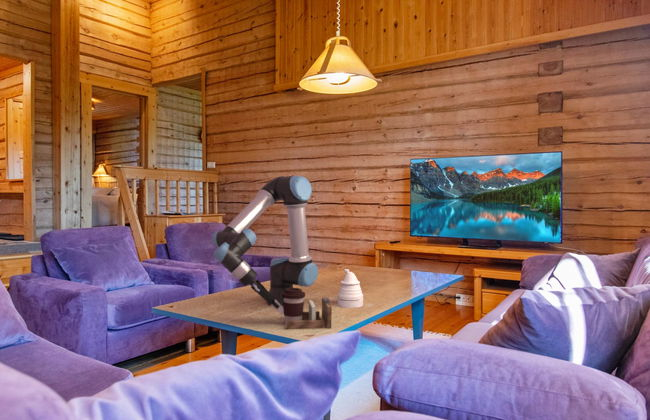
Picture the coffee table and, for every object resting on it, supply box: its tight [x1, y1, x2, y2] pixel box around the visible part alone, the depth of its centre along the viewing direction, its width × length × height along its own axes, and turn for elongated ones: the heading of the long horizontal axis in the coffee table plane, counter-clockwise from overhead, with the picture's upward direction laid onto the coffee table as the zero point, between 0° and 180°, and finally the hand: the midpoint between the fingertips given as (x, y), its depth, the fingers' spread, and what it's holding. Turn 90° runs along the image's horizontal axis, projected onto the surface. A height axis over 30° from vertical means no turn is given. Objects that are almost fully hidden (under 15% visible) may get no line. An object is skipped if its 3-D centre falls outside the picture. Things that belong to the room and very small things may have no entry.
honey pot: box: [337, 268, 364, 309], centre depth 234 cm, size 13×13×18 cm
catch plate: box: [308, 299, 317, 320], centre depth 200 cm, size 2×12×8 cm, turn 8°
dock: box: [286, 297, 333, 330], centre depth 199 cm, size 19×17×10 cm
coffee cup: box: [282, 287, 306, 326], centre depth 198 cm, size 10×10×15 cm
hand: (283, 312), depth 197 cm, fingers closed
